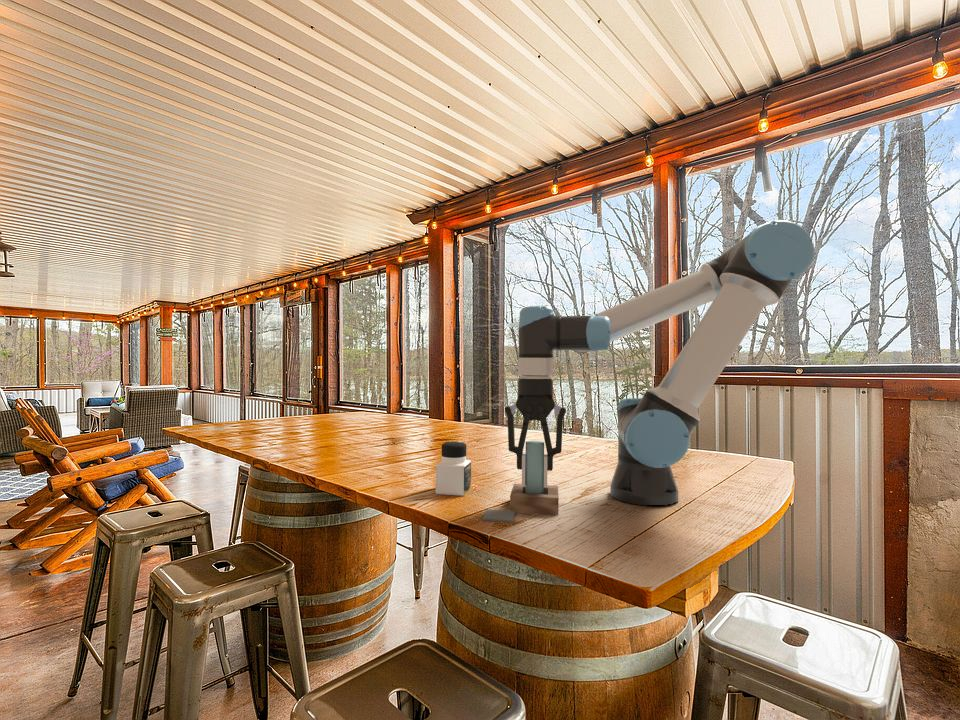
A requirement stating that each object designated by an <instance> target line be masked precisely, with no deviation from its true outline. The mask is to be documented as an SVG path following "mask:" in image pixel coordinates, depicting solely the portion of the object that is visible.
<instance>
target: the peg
mask: <svg viewBox="0 0 960 720" xmlns="http://www.w3.org/2000/svg"><path fill="white" fill-rule="evenodd" d="M525 454H526V486H525V494H544V454H545V441H540V440H539V441H538V440H530V441H529V440H528V441H525Z"/></svg>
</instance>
